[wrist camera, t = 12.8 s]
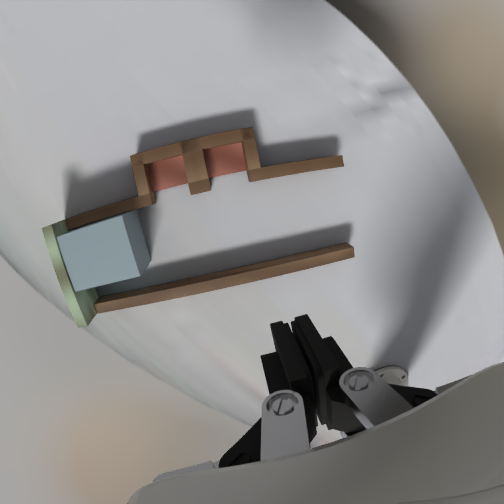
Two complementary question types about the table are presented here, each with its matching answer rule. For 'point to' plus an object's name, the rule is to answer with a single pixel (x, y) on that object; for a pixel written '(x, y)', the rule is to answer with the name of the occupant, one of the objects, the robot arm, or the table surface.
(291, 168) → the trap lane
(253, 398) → the table surface
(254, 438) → the robot arm
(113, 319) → the table surface
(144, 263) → the slate block
